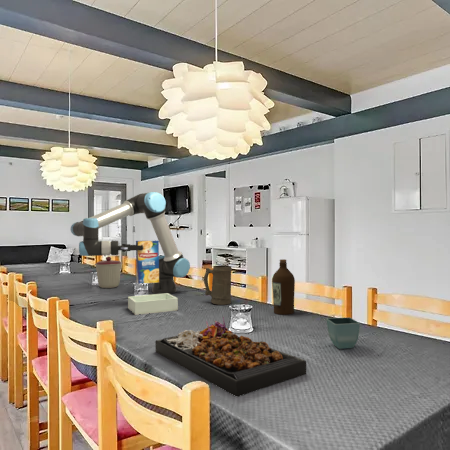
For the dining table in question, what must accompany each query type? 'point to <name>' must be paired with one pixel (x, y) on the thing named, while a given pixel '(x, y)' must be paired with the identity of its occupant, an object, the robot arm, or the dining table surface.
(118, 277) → the canister
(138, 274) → the beverage box
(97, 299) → the dining table surface
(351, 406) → the dining table surface
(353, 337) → the flower pot
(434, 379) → the dining table surface
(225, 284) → the beer stein
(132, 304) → the box
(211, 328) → the food platter
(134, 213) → the robot arm
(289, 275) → the brown bottle
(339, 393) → the dining table surface
